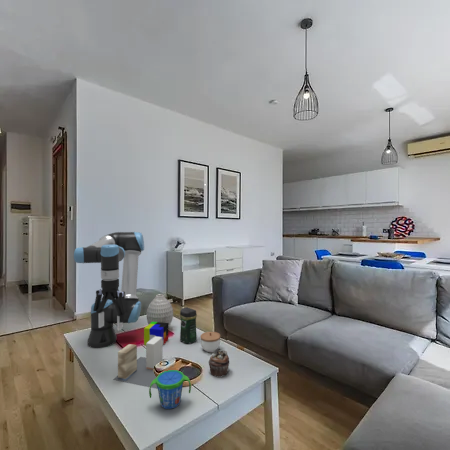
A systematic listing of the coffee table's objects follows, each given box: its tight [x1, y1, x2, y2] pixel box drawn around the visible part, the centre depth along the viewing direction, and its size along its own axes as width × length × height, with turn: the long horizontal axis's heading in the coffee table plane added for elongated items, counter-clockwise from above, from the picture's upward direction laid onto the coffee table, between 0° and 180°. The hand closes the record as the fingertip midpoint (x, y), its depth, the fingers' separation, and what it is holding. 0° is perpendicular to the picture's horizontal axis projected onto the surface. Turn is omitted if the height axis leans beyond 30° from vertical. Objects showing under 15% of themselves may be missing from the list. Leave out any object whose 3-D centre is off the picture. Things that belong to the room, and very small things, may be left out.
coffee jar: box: [179, 306, 198, 344], centre depth 160 cm, size 10×8×19 cm
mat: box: [112, 356, 158, 390], centre depth 127 cm, size 26×21×1 cm
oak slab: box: [117, 343, 138, 381], centre depth 124 cm, size 4×8×12 cm, turn 163°
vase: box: [146, 293, 174, 328], centre depth 174 cm, size 16×16×22 cm
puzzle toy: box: [143, 322, 169, 346], centre depth 157 cm, size 10×10×10 cm
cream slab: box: [145, 336, 164, 370], centre depth 132 cm, size 4×8×12 cm, turn 163°
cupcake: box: [208, 348, 230, 378], centre depth 127 cm, size 10×10×10 cm
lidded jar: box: [199, 331, 221, 354], centre depth 149 cm, size 11×11×9 cm
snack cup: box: [148, 370, 192, 410], centre depth 106 cm, size 16×10×10 cm
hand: (110, 328), depth 126 cm, fingers open, 9 cm apart
